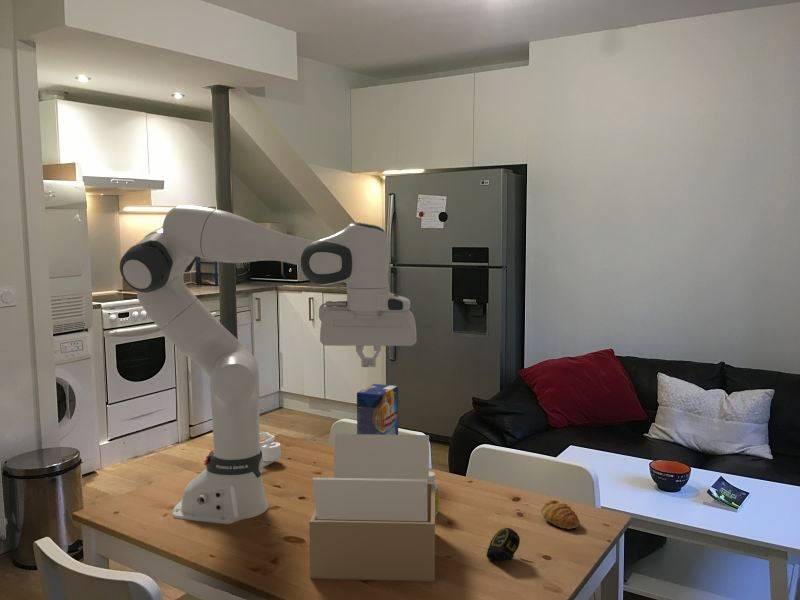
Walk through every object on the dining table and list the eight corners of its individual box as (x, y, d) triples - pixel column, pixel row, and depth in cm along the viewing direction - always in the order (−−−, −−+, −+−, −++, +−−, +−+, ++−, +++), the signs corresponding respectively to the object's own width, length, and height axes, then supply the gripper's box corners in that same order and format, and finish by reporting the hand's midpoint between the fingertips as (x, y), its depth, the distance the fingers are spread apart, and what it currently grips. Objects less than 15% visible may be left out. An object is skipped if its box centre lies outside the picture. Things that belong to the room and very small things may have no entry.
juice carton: (382, 481, 185) (381, 395, 183) (357, 478, 188) (356, 392, 186) (398, 467, 196) (398, 385, 194) (374, 464, 199) (374, 383, 197)
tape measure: (495, 565, 140) (481, 554, 140) (510, 537, 144) (497, 526, 144) (513, 565, 135) (499, 553, 134) (528, 536, 138) (515, 524, 138)
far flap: (428, 481, 151) (428, 481, 151) (429, 435, 154) (429, 435, 154) (333, 479, 152) (333, 479, 152) (335, 434, 155) (335, 434, 155)
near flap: (317, 517, 131) (316, 519, 131) (313, 477, 127) (312, 479, 126) (427, 519, 130) (427, 521, 130) (427, 479, 126) (427, 481, 125)
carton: (310, 581, 132) (309, 521, 131) (328, 532, 154) (327, 480, 153) (434, 584, 131) (434, 524, 129) (435, 534, 152) (435, 482, 151)
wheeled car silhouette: (238, 481, 187) (237, 454, 186) (210, 473, 193) (210, 448, 192) (288, 461, 203) (288, 436, 202) (262, 454, 209) (261, 431, 209)
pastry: (586, 528, 155) (588, 512, 155) (563, 533, 152) (564, 516, 152) (559, 512, 164) (560, 497, 163) (537, 516, 160) (538, 501, 160)
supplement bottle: (436, 518, 161) (436, 478, 160) (413, 516, 162) (413, 476, 161) (439, 509, 167) (439, 470, 166) (417, 507, 168) (417, 469, 167)
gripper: (316, 302, 140) (317, 369, 141) (416, 302, 139) (416, 369, 140) (321, 299, 146) (322, 363, 147) (416, 299, 145) (417, 364, 146)
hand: (368, 366), depth 144 cm, fingers closed
